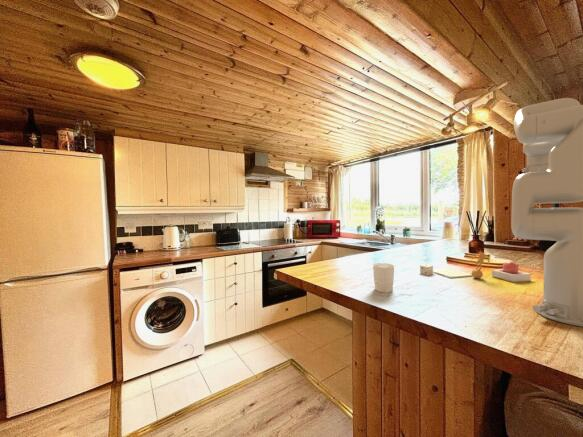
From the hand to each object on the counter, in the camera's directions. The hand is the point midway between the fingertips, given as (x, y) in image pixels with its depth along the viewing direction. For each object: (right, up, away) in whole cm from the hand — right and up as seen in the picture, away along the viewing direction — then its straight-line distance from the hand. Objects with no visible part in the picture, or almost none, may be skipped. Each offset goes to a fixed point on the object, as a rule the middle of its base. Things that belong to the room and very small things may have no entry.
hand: (538, 209), depth 101 cm
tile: (-29, -31, +13) cm, 44 cm away
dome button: (-10, -28, +3) cm, 30 cm away
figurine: (-22, -31, +5) cm, 38 cm away
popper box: (-9, -31, +3) cm, 32 cm away
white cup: (-70, -33, -7) cm, 77 cm away
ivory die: (-40, -31, +15) cm, 53 cm away
